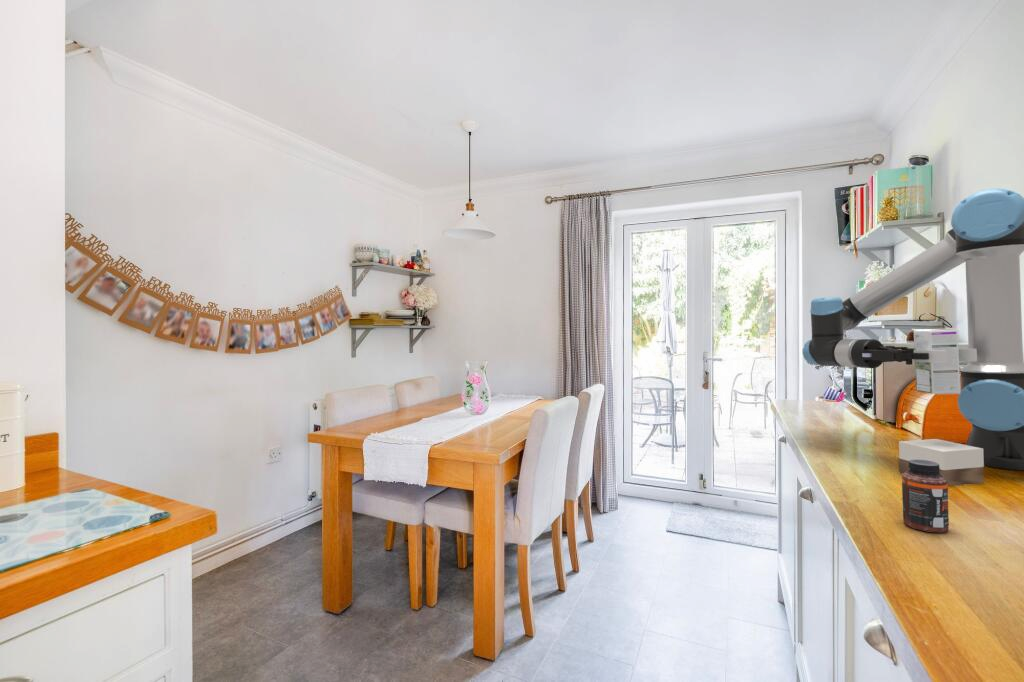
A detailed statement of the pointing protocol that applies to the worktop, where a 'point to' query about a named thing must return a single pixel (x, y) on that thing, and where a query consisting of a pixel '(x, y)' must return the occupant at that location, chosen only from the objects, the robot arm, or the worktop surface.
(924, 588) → the worktop surface
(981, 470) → the tower base block
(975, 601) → the worktop surface
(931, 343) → the syrup box
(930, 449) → the tower top block
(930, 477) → the supplement bottle
